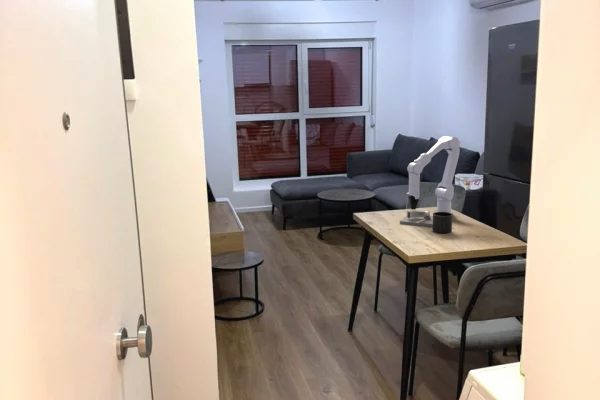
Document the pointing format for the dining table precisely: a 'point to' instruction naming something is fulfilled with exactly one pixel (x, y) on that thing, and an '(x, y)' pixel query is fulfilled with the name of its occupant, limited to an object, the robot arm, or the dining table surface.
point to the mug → (442, 222)
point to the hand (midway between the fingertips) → (413, 209)
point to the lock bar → (418, 214)
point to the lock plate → (418, 221)
